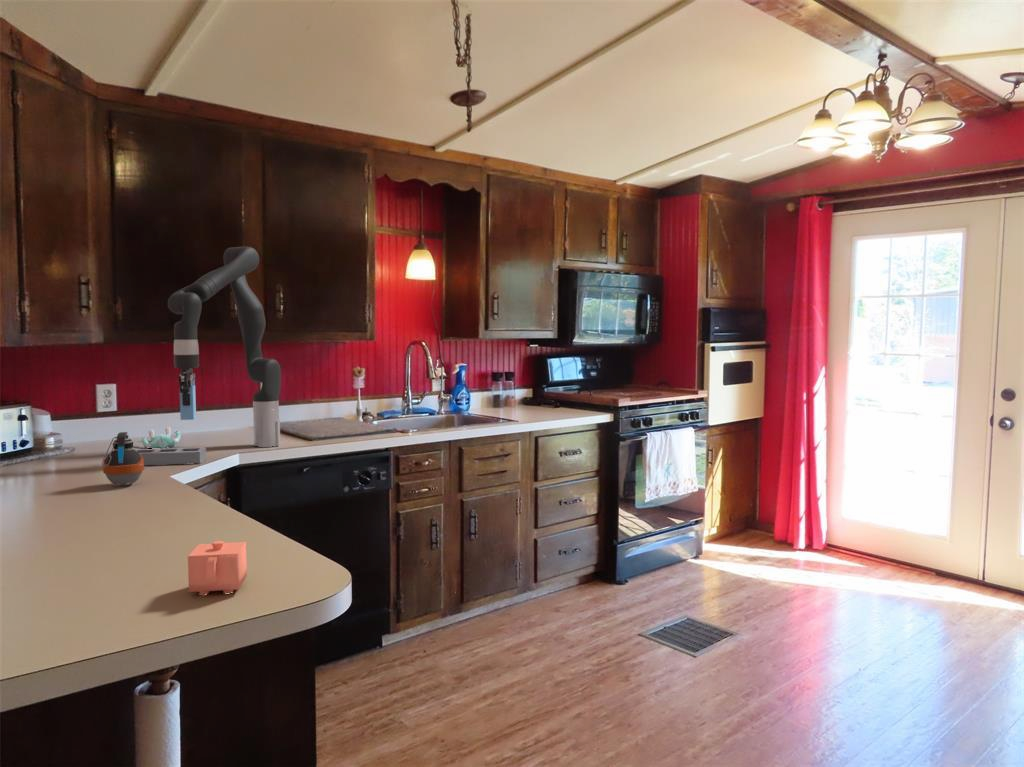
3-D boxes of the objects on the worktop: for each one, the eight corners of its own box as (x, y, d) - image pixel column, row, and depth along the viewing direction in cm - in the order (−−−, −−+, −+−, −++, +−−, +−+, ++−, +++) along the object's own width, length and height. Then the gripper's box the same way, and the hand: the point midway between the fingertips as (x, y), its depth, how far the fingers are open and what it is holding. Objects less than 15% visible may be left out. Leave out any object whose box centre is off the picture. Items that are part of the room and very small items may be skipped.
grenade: (106, 483, 204) (104, 431, 202) (146, 480, 207) (144, 429, 206) (99, 491, 193) (97, 436, 192) (141, 488, 197) (140, 434, 196)
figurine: (177, 425, 287) (181, 431, 260) (179, 440, 287) (184, 448, 261) (140, 431, 281) (141, 437, 254) (143, 446, 281) (144, 454, 255)
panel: (206, 458, 243) (205, 447, 243) (200, 463, 234) (199, 451, 233) (136, 461, 238) (135, 449, 238) (126, 466, 229) (126, 454, 228)
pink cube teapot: (250, 575, 127) (249, 530, 127) (236, 600, 115) (235, 550, 115) (204, 577, 126) (202, 532, 125) (185, 603, 114) (183, 553, 114)
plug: (196, 418, 239) (195, 385, 238) (193, 419, 235) (192, 386, 234) (183, 418, 238) (182, 385, 237) (180, 419, 234) (179, 386, 233)
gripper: (193, 353, 229) (195, 406, 230) (202, 352, 243) (204, 402, 244) (168, 354, 227) (170, 407, 228) (179, 352, 241) (180, 403, 242)
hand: (188, 404), depth 236 cm, fingers closed on plug, 4 cm apart
